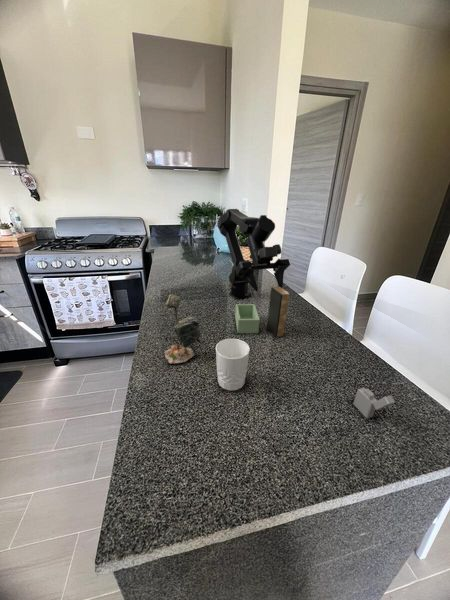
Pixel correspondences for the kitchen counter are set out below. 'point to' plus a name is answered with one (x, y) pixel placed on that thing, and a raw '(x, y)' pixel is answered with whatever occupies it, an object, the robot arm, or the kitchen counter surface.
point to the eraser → (277, 311)
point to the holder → (247, 318)
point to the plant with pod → (182, 335)
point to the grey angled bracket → (370, 402)
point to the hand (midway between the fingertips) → (269, 289)
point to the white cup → (232, 363)
